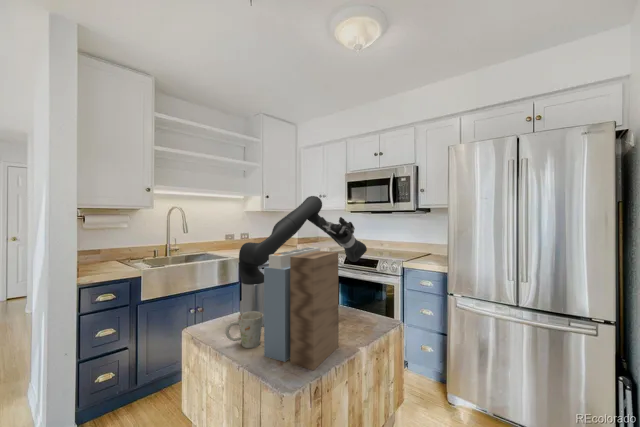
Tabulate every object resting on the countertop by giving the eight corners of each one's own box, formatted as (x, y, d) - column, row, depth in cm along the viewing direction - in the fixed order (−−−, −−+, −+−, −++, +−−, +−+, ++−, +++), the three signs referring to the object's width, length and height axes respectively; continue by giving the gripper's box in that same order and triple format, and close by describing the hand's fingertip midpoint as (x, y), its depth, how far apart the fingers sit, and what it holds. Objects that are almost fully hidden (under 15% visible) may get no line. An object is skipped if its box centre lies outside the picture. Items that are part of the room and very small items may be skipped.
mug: (264, 348, 98) (264, 318, 98) (224, 353, 95) (224, 322, 95) (261, 338, 106) (261, 310, 106) (225, 342, 103) (225, 313, 103)
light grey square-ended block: (268, 267, 92) (268, 254, 92) (310, 257, 115) (310, 246, 115) (280, 269, 90) (280, 255, 90) (320, 258, 113) (320, 246, 113)
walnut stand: (290, 363, 88) (290, 256, 88) (317, 341, 103) (317, 250, 103) (313, 370, 84) (313, 258, 84) (338, 346, 99) (338, 252, 99)
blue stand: (264, 356, 92) (264, 267, 93) (293, 336, 107) (293, 260, 108) (285, 362, 89) (284, 269, 89) (312, 340, 104) (312, 261, 104)
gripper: (332, 228, 136) (317, 211, 124) (360, 229, 129) (348, 210, 117) (328, 243, 133) (313, 226, 120) (357, 245, 126) (344, 227, 114)
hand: (330, 219), depth 119 cm, fingers open, 8 cm apart
